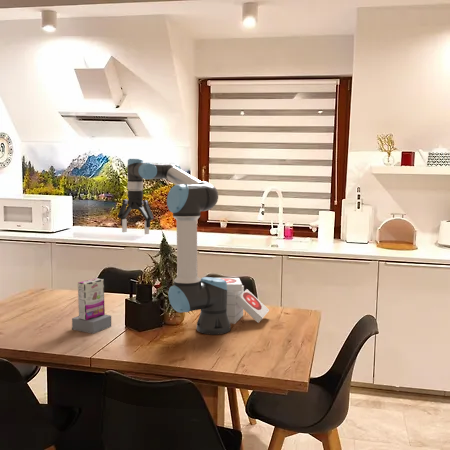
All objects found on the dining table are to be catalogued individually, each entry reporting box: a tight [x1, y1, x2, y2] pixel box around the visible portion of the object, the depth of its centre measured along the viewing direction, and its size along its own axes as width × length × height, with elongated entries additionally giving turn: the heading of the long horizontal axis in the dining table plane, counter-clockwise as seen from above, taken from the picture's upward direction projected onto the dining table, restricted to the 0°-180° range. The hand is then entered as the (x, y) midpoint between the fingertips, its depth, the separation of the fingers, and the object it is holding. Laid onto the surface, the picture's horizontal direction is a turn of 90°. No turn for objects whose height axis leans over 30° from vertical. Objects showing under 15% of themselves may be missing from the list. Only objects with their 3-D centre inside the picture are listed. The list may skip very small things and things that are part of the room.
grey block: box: [71, 314, 112, 334], centre depth 236 cm, size 12×12×5 cm
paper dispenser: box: [218, 277, 270, 325], centre depth 253 cm, size 19×30×18 cm, turn 73°
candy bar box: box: [77, 277, 106, 320], centre depth 235 cm, size 11×5×16 cm, turn 145°
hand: (135, 233), depth 264 cm, fingers open, 13 cm apart
